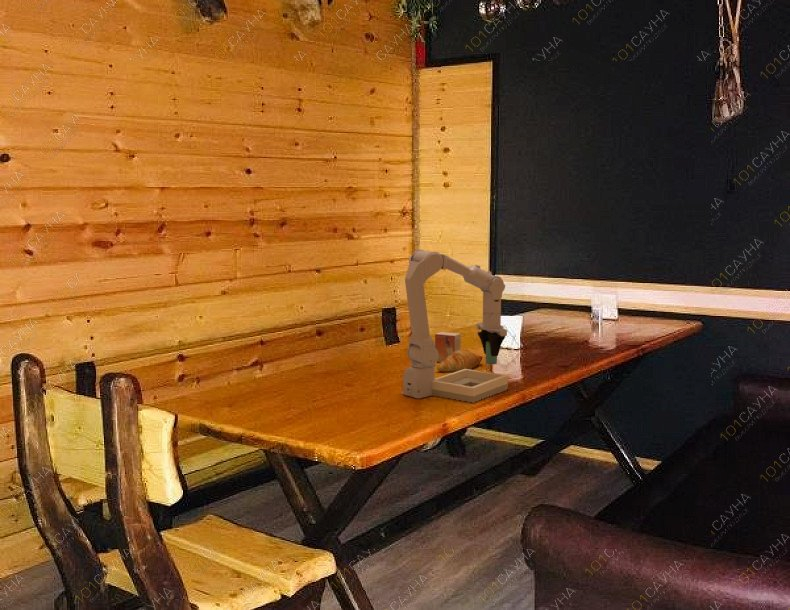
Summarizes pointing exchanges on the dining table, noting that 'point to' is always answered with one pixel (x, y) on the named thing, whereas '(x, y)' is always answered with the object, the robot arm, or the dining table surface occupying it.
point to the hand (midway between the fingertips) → (491, 354)
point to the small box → (447, 344)
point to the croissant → (459, 361)
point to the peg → (490, 358)
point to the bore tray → (469, 385)
